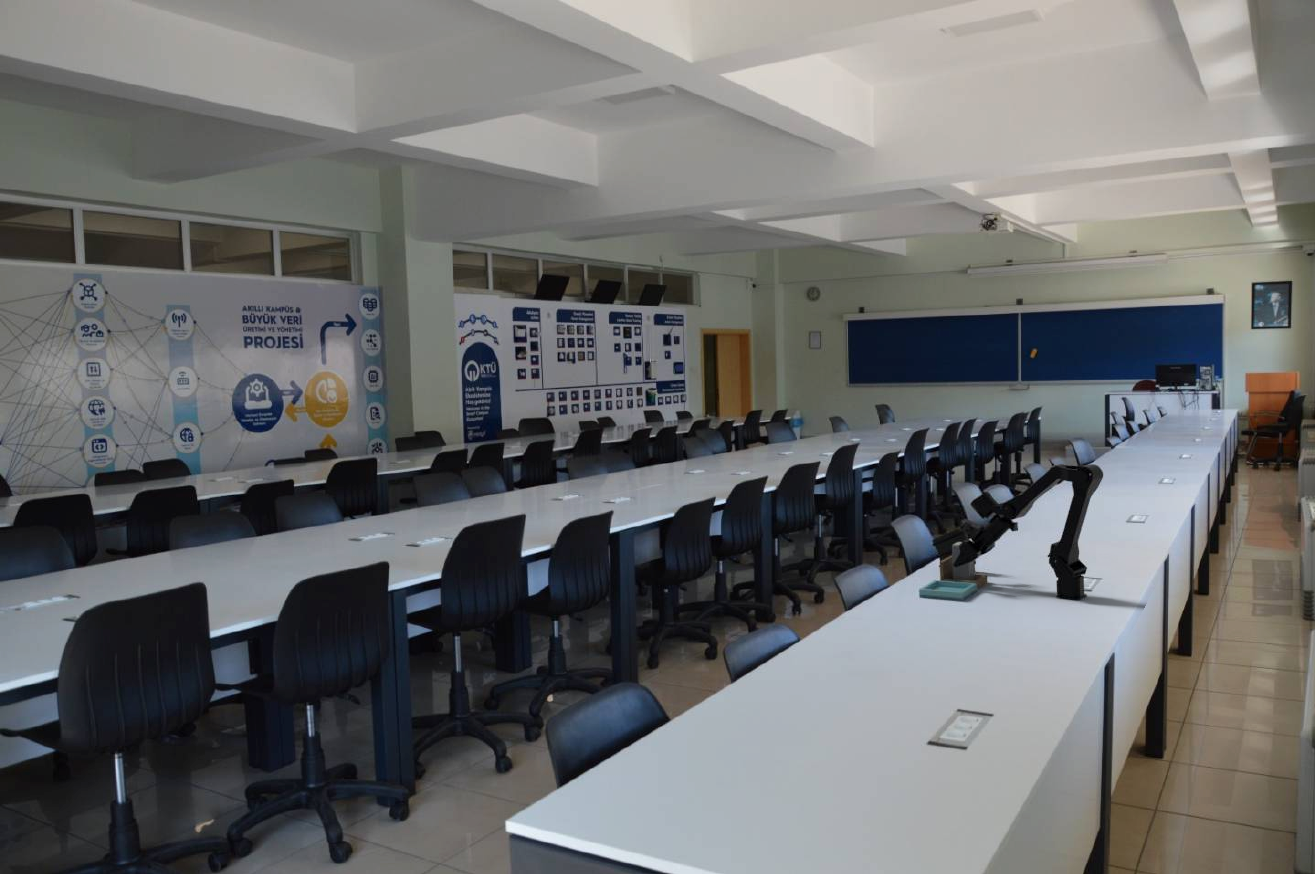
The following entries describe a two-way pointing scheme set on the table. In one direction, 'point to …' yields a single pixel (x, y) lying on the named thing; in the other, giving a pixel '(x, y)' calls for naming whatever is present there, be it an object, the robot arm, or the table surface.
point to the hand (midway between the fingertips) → (959, 563)
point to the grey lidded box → (962, 566)
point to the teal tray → (948, 590)
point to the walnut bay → (947, 573)
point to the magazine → (949, 543)
